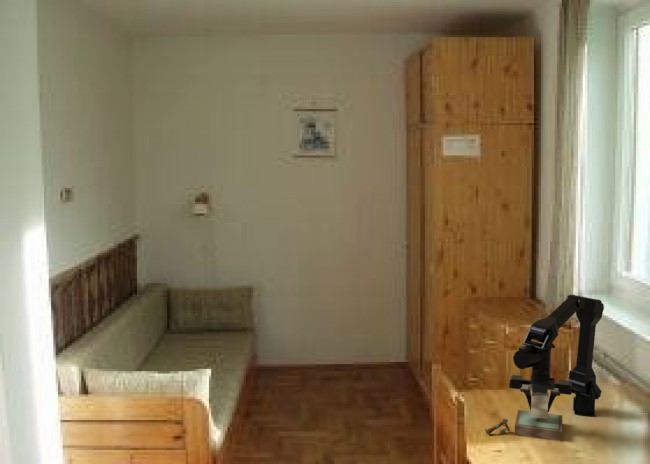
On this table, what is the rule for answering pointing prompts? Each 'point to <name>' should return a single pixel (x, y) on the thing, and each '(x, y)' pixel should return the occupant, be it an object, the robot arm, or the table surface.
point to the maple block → (539, 405)
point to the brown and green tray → (538, 426)
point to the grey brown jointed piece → (498, 427)
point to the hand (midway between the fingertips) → (539, 410)
